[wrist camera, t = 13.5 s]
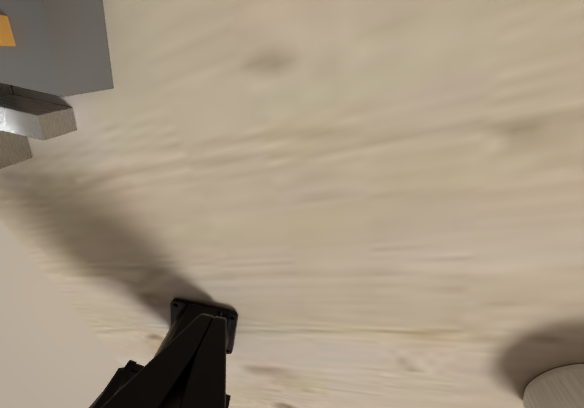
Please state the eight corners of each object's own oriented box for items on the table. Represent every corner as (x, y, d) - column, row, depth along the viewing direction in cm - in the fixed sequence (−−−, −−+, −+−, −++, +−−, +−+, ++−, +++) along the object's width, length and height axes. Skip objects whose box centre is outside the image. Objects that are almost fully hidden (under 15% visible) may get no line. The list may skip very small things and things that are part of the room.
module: (115, 87, 17) (52, 98, 13) (7, 63, 17) (-89, 66, 13) (103, -10, 15) (20, -33, 11) (-23, -39, 15) (-153, -74, 11)
